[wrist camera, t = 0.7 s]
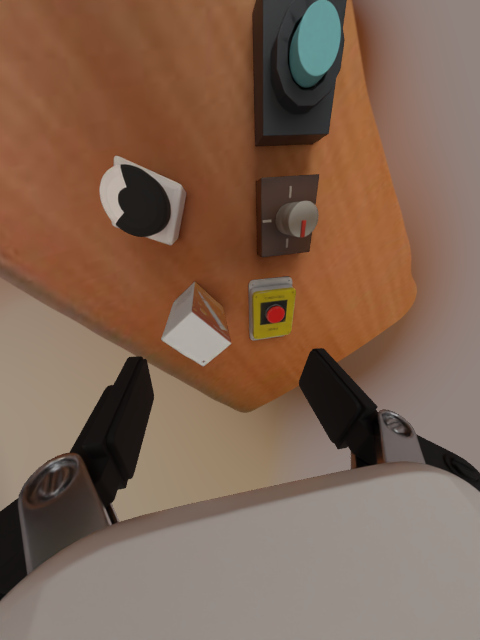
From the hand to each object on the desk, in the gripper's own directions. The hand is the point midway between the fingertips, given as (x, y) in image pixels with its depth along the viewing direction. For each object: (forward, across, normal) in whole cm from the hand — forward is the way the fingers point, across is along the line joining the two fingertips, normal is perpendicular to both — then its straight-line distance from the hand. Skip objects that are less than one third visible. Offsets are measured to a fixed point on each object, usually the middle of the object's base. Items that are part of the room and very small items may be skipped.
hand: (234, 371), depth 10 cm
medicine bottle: (+27, +8, -8) cm, 29 cm away
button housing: (+27, -9, -23) cm, 37 cm away
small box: (+27, +2, +8) cm, 28 cm away
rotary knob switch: (+27, -12, -9) cm, 30 cm away
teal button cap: (+21, -9, -23) cm, 33 cm away
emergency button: (+27, -13, +9) cm, 31 cm away
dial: (+24, -12, -9) cm, 28 cm away
